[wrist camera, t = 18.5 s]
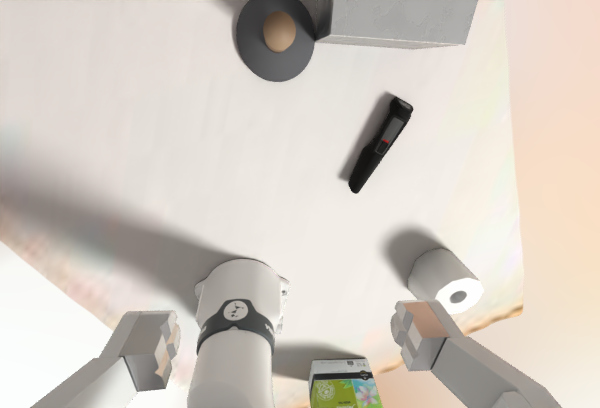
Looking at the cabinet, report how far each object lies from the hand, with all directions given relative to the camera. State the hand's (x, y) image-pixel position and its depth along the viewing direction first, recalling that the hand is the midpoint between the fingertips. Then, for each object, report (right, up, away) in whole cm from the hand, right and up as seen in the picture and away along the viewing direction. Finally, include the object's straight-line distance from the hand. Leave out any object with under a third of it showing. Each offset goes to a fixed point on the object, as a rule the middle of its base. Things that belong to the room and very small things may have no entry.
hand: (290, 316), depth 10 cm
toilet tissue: (+28, -10, +48) cm, 56 cm away
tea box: (+10, -40, +61) cm, 74 cm away
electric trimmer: (+13, +14, +34) cm, 38 cm away
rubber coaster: (-3, +26, +25) cm, 36 cm away
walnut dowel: (-3, +25, +24) cm, 35 cm away
